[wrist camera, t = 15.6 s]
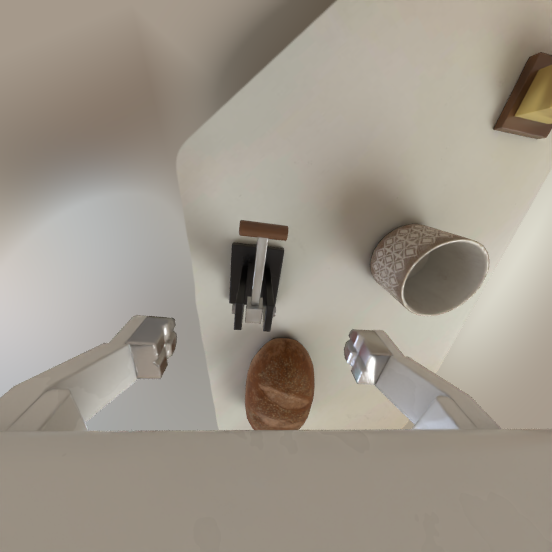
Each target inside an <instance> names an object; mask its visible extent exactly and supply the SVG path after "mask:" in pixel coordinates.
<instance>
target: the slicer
mask: <svg viewBox="0 0 552 552" xmlns="http://www.w3.org/2000/svg"><path fill="white" fill-rule="evenodd" d="M256 249H257V245H251V244H242V243H233V244H232V257H231V279H230V301H229V303H231V304H233V306H232V314H235V320H234V330H241V328H242V320H243V312H244V304H245V305H247V297H252V287H253V278H254V268H255V259H256ZM283 256H284V248H278V247H269V246H267V251H266V258H265V265H264V273H263V280H262V287H261V294H260V298H263V331H267V332H270V330H271V324H272V318H273V316H275V314H276V307H275V304H276V298H277V292H278V286H279V280H280V274H281V268H282V262H283Z"/></svg>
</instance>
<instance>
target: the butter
mask: <svg viewBox="0 0 552 552" xmlns="http://www.w3.org/2000/svg"><path fill="white" fill-rule="evenodd" d="M551 129H552V55H549V54H545V53H542V52H540V53H538V54H535V55H533V56H531V57H529V59H528V61H527V63H526V65H525V67H524V69H523V71H522V73H521V75H520V77H519V79H518V81H517V83H516V85H515V87H514V89H513V91H512V93H511V95H510V97H509V99H508V101H507V103H506V105H505V107H504V109H503V111H502V113H501V115H500V117H499V119H498V121H497V123H496V125H495V127H494V130H498V131H503V132H507V133H512V134H517V135H521V136H526V137H530V138H535V139H540V138H546V137H547V136H548V134H549V133H550V131H551Z"/></svg>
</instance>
